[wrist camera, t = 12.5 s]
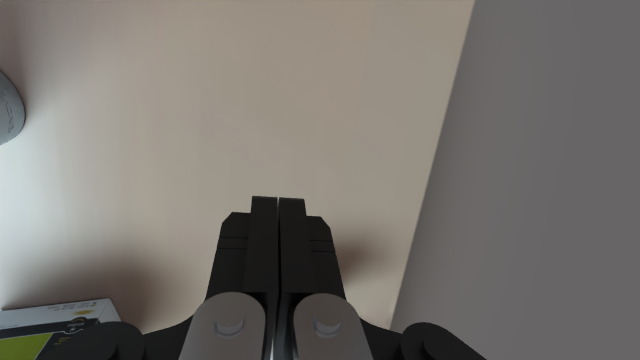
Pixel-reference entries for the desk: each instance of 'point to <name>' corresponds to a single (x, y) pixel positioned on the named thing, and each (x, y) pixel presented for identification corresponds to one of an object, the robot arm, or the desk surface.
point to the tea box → (48, 326)
